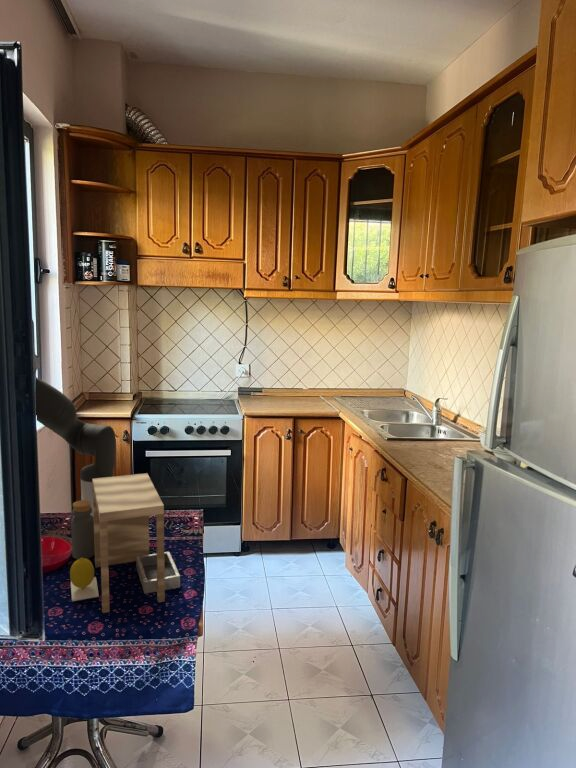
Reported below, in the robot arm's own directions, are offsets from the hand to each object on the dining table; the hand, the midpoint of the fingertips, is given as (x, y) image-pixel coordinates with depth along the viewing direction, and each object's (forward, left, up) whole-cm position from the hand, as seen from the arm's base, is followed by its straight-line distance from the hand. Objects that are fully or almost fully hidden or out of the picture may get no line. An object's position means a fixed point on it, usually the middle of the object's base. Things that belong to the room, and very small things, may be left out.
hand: (30, 573), depth 130 cm
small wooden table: (0, +22, -6) cm, 23 cm away
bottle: (-19, +13, -7) cm, 24 cm away
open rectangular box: (0, +29, -6) cm, 30 cm away
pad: (0, +12, -6) cm, 13 cm away
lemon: (0, +11, -6) cm, 13 cm away
